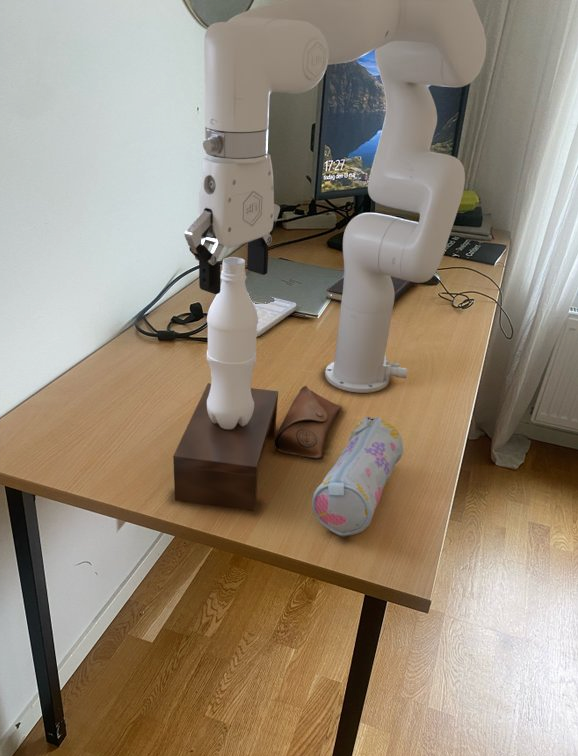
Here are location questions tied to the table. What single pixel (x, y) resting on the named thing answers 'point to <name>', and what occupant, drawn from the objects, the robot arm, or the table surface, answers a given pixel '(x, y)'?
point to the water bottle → (231, 348)
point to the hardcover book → (398, 284)
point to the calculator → (272, 313)
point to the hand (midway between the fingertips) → (234, 281)
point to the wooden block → (224, 455)
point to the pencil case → (358, 477)
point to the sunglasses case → (306, 425)
